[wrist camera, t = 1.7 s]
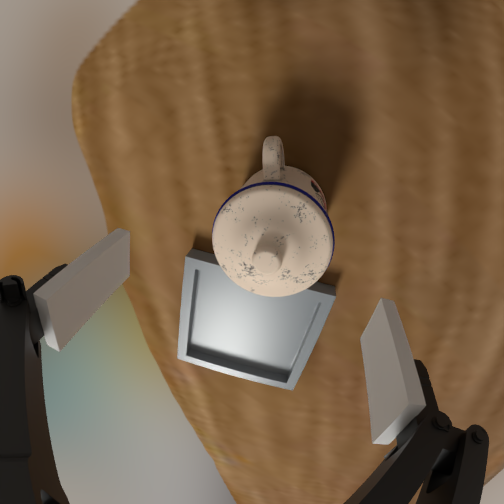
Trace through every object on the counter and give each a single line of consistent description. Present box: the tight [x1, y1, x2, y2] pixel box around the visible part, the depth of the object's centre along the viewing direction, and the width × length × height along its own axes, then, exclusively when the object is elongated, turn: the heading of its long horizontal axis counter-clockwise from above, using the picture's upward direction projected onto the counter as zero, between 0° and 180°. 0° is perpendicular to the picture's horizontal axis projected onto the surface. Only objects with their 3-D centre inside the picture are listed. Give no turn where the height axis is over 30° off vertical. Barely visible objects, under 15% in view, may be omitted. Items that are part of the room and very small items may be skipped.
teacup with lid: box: [212, 136, 334, 297], centre depth 24 cm, size 12×9×12 cm
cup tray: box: [177, 248, 336, 390], centre depth 36 cm, size 16×16×2 cm
